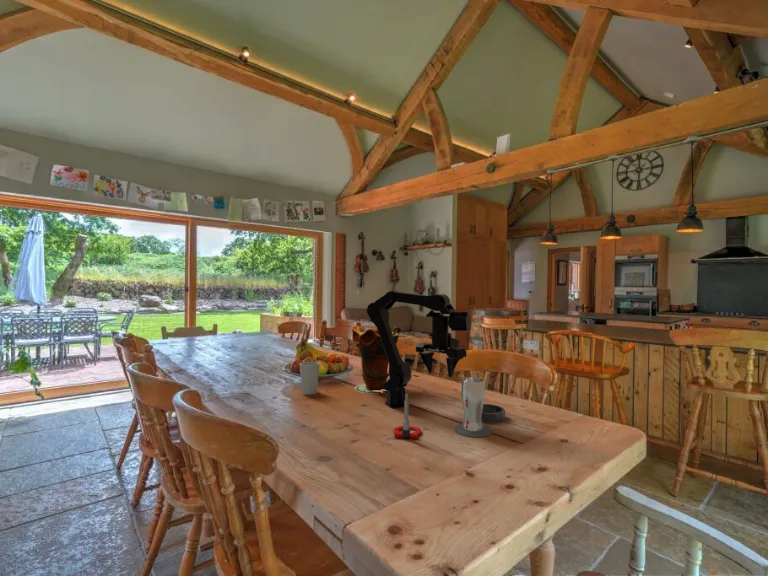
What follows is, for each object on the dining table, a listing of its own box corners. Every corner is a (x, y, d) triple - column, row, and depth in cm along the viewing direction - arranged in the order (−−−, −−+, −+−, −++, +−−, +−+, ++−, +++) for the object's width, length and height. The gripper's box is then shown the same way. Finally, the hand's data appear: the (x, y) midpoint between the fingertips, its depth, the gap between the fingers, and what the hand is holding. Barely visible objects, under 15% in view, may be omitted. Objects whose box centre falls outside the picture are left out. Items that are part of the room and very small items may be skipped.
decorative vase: (410, 384, 173) (408, 321, 171) (382, 399, 153) (380, 329, 152) (371, 378, 184) (369, 319, 182) (341, 392, 164) (338, 326, 163)
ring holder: (486, 425, 123) (486, 415, 123) (465, 415, 132) (465, 406, 132) (511, 420, 127) (511, 410, 127) (489, 410, 137) (489, 402, 137)
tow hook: (395, 428, 121) (391, 438, 112) (395, 386, 122) (391, 393, 113) (422, 430, 120) (420, 440, 111) (422, 388, 121) (420, 394, 111)
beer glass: (487, 427, 120) (487, 378, 120) (481, 434, 114) (481, 383, 114) (465, 423, 123) (465, 376, 123) (458, 430, 117) (458, 380, 117)
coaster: (470, 440, 111) (470, 438, 111) (447, 427, 121) (447, 426, 121) (499, 433, 116) (499, 432, 116) (475, 422, 126) (475, 420, 126)
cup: (297, 391, 163) (297, 362, 163) (316, 389, 166) (316, 361, 166) (302, 396, 156) (302, 366, 156) (321, 393, 159) (321, 364, 159)
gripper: (476, 330, 134) (476, 375, 134) (435, 326, 148) (435, 367, 148) (455, 333, 126) (455, 381, 127) (414, 328, 141) (414, 371, 141)
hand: (440, 374), depth 136 cm, fingers open, 9 cm apart
